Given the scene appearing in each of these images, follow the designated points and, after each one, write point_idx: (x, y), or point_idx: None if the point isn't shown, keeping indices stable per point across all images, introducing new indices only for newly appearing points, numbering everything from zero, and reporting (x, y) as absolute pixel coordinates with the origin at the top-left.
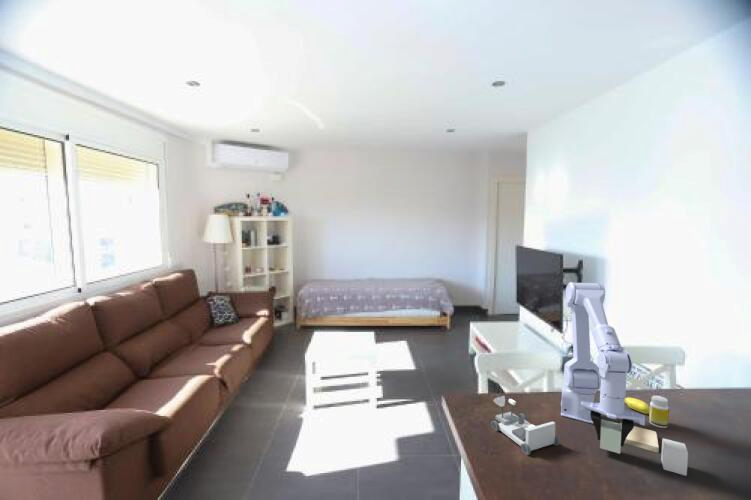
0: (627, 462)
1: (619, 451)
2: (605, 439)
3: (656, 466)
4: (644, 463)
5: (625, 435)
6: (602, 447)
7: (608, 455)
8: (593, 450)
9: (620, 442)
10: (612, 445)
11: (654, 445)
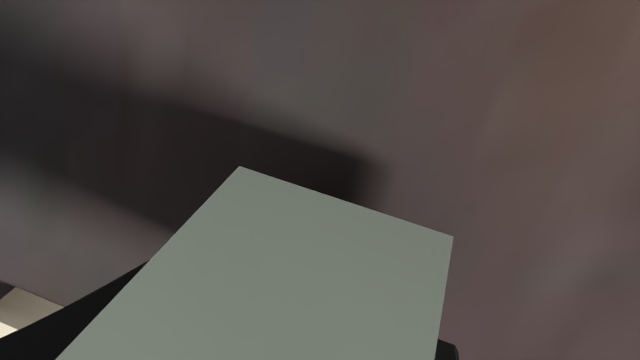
0: (210, 118)
1: (235, 183)
2: (363, 316)
3: (11, 121)
4: (86, 140)
5: (13, 350)
6: (423, 236)
7: (366, 195)
8: (505, 253)
9: (159, 256)
10: (290, 239)
11: (6, 334)
